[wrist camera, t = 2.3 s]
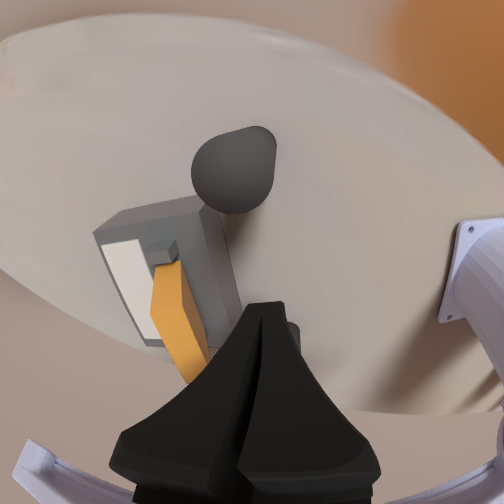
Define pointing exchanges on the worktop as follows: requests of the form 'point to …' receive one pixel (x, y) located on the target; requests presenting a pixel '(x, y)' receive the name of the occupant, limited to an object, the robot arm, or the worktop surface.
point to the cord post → (235, 170)
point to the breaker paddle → (179, 320)
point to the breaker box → (167, 251)
